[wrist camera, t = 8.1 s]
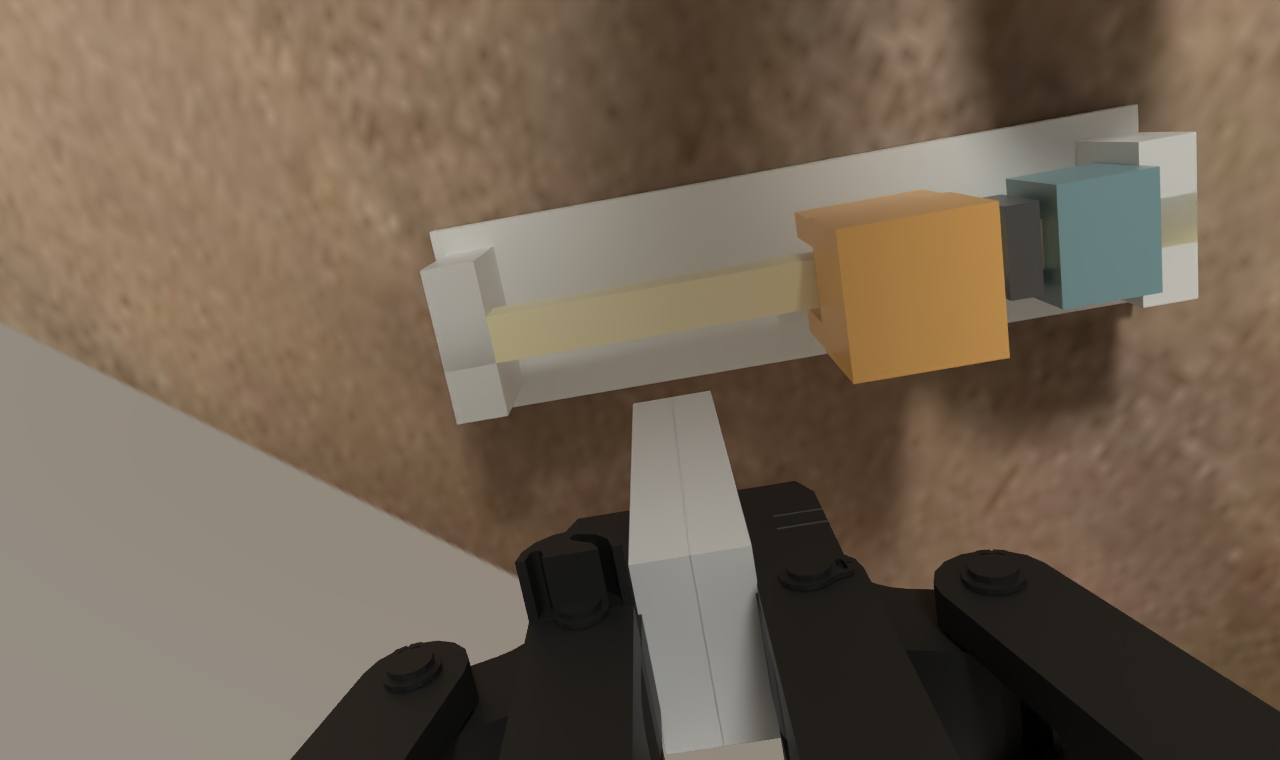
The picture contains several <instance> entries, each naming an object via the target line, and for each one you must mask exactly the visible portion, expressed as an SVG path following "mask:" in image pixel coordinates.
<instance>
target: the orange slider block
mask: <svg viewBox="0 0 1280 760" xmlns="http://www.w3.org/2000/svg"><path fill="white" fill-rule="evenodd" d="M794 214H795V222H796V230H797V237H798V238H799V239H801V240H802V241H804V242H805V243H807V244H808V245H810V246H811V247H813V254H814V262H815V270H816V278H817V286H818V294H819V302H820V307H819V308H813V309H807V314H808V322H809V329H810V332H811V333H812V334H813V335H814V336H815V337H816V339H817V340H818V341H819V342H820V343H821V344H822V346H823V347H824V348H825V349H826V352H827V354H828V355H829V356H830V357H831V358H832V359H833V361H834V362H835V363H836V364H837V365H838V366H839V368H840V369H841V370H842V371H843V372H844V374H845V375H846V376H847V377H848V378H849V379H850V381H851V382H852V383H853V384H858V383H864V382H870V381H876V380H882V379H888V378H894V377H900V376H906V375H912V374H918V373H924V372H930V371H935V370H941V369H947V368H953V367H959V366H965V365H971V364H977V363H983V362H989V361H995V360H1001V359H1006V358H1010V351H1009V337H1008V323H1007V309H1006V295H1005V280H1004V266H1003V252H1002V238H1001V223H1000V209H999V201H998V200H992V199H987V198H981V197H976V196H970V195H965V194H959V193H954V192H945V193H939V192H934V191H929V190H924V189H921V190H915V191H910V192H904V193H899V194H893V195H887V196H882V197H876V198H871V199H865V200H859V201H854V202H848V203H843V204H837V205H831V206H826V207H820V208H815V209H809V210H803V211H798V212H794Z"/></svg>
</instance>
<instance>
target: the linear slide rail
mask: <svg viewBox="0 0 1280 760" xmlns="http://www.w3.org/2000/svg"><path fill="white" fill-rule="evenodd" d="M921 189H924V190H929V191H934V192H939V193H945V192H954V193H959V194H965V195H970V196H976V197H981V198H987V199H992V200H998V201H999V209H1000V223H1001V238H1002V252H1003V266H1004V280H1005V295H1006V309H1007V323H1010V322H1016V321H1022V320H1028V319H1034V318H1039V317H1045V316H1051V315H1057V314H1063V313H1069V312H1075V311H1080V310H1086V309H1092V308H1098V307H1104V306H1110V305H1116V304H1121V303H1127V302H1128V303H1131V304H1134V305H1137V306H1140V307H1143V308H1144V307H1150V306H1156V305H1162V304H1168V303H1174V302H1179V301H1185V300H1191V299H1197V298H1198V237H1197V159H1196V132H1139V126H1138V104H1136V105H1125V106H1119V107H1114V108H1108V109H1103V110H1097V111H1091V112H1086V113H1080V114H1075V115H1069V116H1064V117H1058V118H1053V119H1047V120H1042V121H1036V122H1031V123H1025V124H1020V125H1014V126H1009V127H1003V128H998V129H992V130H987V131H981V132H976V133H970V134H964V135H959V136H953V137H948V138H942V139H937V140H931V141H926V142H920V143H915V144H909V145H904V146H898V147H893V148H887V149H882V150H876V151H871V152H865V153H860V154H854V155H848V156H843V157H837V158H832V159H826V160H821V161H815V162H810V163H804V164H799V165H793V166H788V167H782V168H777V169H771V170H766V171H760V172H755V173H749V174H744V175H738V176H732V177H727V178H721V179H716V180H710V181H705V182H699V183H694V184H688V185H683V186H677V187H672V188H666V189H661V190H655V191H650V192H644V193H639V194H633V195H628V196H622V197H616V198H611V199H605V200H600V201H594V202H589V203H583V204H578V205H572V206H567V207H561V208H556V209H550V210H545V211H539V212H534V213H528V214H523V215H517V216H512V217H506V218H500V219H495V220H489V221H484V222H478V223H473V224H467V225H462V226H456V227H451V228H445V229H440V230H434V231H432V232H430V238H431V242H432V246H433V250H434V254H435V259H436V261H435V262H433V263H432V264H430V265H429V266H427V267H425V268H424V269H422V270H420V274H421V278H422V282H423V286H424V290H425V294H426V298H427V302H428V307H429V311H430V315H431V319H432V323H433V327H434V331H435V335H436V339H437V344H438V348H439V352H440V356H441V360H442V364H443V368H444V372H445V376H446V381H447V385H448V389H449V393H450V397H451V401H452V405H453V409H454V413H455V418H456V422H457V425H458V424H463V423H469V422H475V421H481V420H487V419H493V418H499V417H505V416H508V415H509V413H510V411H511V409H512V407H518V406H524V405H530V404H536V403H542V402H548V401H553V400H559V399H565V398H571V397H577V396H583V395H589V394H594V393H600V392H606V391H612V390H618V389H624V388H630V387H635V386H641V385H647V384H653V383H659V382H665V381H671V380H676V379H682V378H688V377H694V376H700V375H706V374H712V373H717V372H723V371H729V370H735V369H741V368H747V367H753V366H758V365H764V364H770V363H776V362H782V361H788V360H793V359H799V358H805V357H811V356H817V355H823V354H827V352H826V349H825V348H824V347H823V346H822V344H821V343H820V342H819V341H818V340H817V339H816V337H815V336H814V335H813V334H812V333H811V332H810V329H809V322H808V314H807V309H813V308H819V307H820V302H819V294H818V286H817V278H816V270H815V262H814V254H813V247H811V246H810V245H808V244H807V243H805V242H804V241H802V240H801V239H799V238H798V237H797V230H796V222H795V214H794V212H798V211H803V210H809V209H815V208H820V207H826V206H831V205H837V204H843V203H848V202H854V201H859V200H865V199H871V198H876V197H882V196H887V195H893V194H899V193H904V192H910V191H915V190H921Z"/></svg>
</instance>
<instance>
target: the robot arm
mask: <svg viewBox="0 0 1280 760" xmlns="http://www.w3.org/2000/svg"><path fill="white" fill-rule="evenodd" d="M515 564H516V569H517V573H518V577H519V581H520V585H521V590H522V593H523V598H524V602H525V606H526V611H527V614H528V619H529V625H528V630H527V634H526V639H525V643H524V644H523V645H521V646H519V647H518V648H516V649H514V650H512V651H510V652H508V653H505V654H503V655H500V656H498V657H495V658H492V659H490V660H487V661H484V662H481V663H478V664H475V665H472V666H470V662H469V659H468V656H467V653H466V650H465V649H464V648H463V647H461V646H459V645H457V644H456V643H453V642H444V641H432V642H426V643H422V642H420V643H415V644H411V645H410V646H409V647H407V646H405V647H402V648H400V649H397V650H395V651H394V652H393V653H392V654H390V655H388V656H386V657H384V658H383V659H381V660H379V661H378V662H377V663H375V664H374V665H373V666H372V667H371V668H370V669H368V670H367V671H366V672H365V673H364V674H363V675H362V676H361V677H360V679H359V680H358V681H357V682H356V683H355V685H354V686H353V687H352V688H351V689H350V690H349V692H348V693H347V694H346V695H345V696H344V697H343V699H342V700H341V701H340V702H339V703H338V704H337V706H336V707H335V708H334V709H333V710H332V712H331V713H330V714H329V715H328V716H327V718H326V719H325V720H324V721H323V722H322V723H321V724H320V726H319V727H318V728H317V729H316V730H315V732H314V733H313V734H312V735H311V736H310V737H309V738H308V740H307V741H306V742H305V743H304V744H303V746H302V747H301V748H300V749H299V750H298V752H296V754H295V755H294V756H293V757H292V758H291V760H665V758H664V754H663V749H662V736H663V741H664V746H665V751H666V755H668V754H675V753H682V752H689V751H695V750H701V749H708V748H715V747H721V746H728V745H735V744H742V743H749V742H755V741H761V740H769V739H775V738H781V741H782V747H783V753H784V760H1280V712H1279V711H1278V710H1276V709H1275V708H1273V707H1271V706H1270V705H1268V704H1267V703H1265V702H1264V701H1262V700H1260V699H1259V698H1257V697H1256V696H1254V695H1252V694H1251V693H1249V692H1248V691H1246V690H1245V689H1243V688H1241V687H1240V686H1238V685H1237V684H1235V683H1234V682H1232V681H1230V680H1229V679H1227V678H1226V677H1224V676H1222V675H1221V674H1219V673H1218V672H1216V671H1215V670H1213V669H1211V668H1210V667H1208V666H1207V665H1205V664H1204V663H1202V662H1200V661H1199V660H1197V659H1196V658H1194V657H1192V656H1191V655H1189V654H1188V653H1186V652H1185V651H1183V650H1181V649H1180V648H1178V647H1177V646H1175V645H1174V644H1172V643H1170V642H1169V641H1167V640H1166V639H1164V638H1162V637H1161V636H1159V635H1158V634H1156V633H1155V632H1153V631H1151V630H1150V629H1148V628H1147V627H1145V626H1144V625H1142V624H1140V623H1139V622H1137V621H1136V620H1134V619H1132V618H1131V617H1129V616H1128V615H1126V614H1125V613H1123V612H1121V611H1120V610H1118V609H1117V608H1115V607H1114V606H1112V605H1110V604H1109V603H1107V602H1106V601H1104V600H1102V599H1101V598H1099V597H1098V596H1096V595H1095V594H1093V593H1091V592H1090V591H1088V590H1087V589H1085V588H1084V587H1082V586H1080V585H1079V584H1077V583H1076V582H1074V581H1072V580H1071V579H1069V578H1068V577H1066V576H1065V575H1063V574H1061V573H1060V572H1058V571H1057V570H1055V569H1054V568H1052V567H1050V566H1049V565H1047V564H1046V563H1044V562H1041V561H1039V560H1037V559H1035V558H1032V557H1030V556H1028V555H1023V554H1018V553H1013V552H1008V551H1006V550H993V551H990V550H979V551H976V552H973V553H967V554H961V555H959V556H957V557H954V558H952V559H950V560H947V561H945V562H944V563H943V564H942V565H941V566H940V567H939V568H938V569H937V570H936V571H935V575H934V590H930V589H903V588H892V587H887V586H883V585H878V584H875V583H873V582H871V581H870V579H869V577H868V575H867V573H866V571H865V569H864V567H863V566H862V565H861V564H860V563H859V562H858V561H857V560H856V559H854V558H851V557H849V556H846V555H844V554H843V552H842V549H841V547H840V545H839V543H838V541H837V539H836V537H835V535H834V533H833V531H832V528H831V526H830V524H829V522H828V521H827V518H826V516H825V514H824V512H823V510H822V509H821V505H820V503H819V501H818V499H817V497H816V495H815V493H814V491H812V490H810V489H808V488H807V487H805V486H803V485H801V484H799V483H798V482H796V481H792V482H786V483H780V484H774V485H767V486H761V487H755V488H749V489H743V490H737V489H736V485H735V481H734V477H733V474H732V470H731V466H730V462H729V459H728V455H727V451H726V447H725V444H724V440H723V436H722V432H721V429H720V425H719V421H718V417H717V414H716V410H715V406H714V402H713V398H712V395H711V391H705V392H699V393H693V394H687V395H681V396H675V397H669V398H664V399H658V400H652V401H646V402H640V403H634V404H633V418H632V453H631V488H630V511H624V512H618V513H611V514H605V515H599V516H593V517H587V518H581V519H578V520H577V521H576V522H575V523H574V524H573V525H572V526H571V527H570V528H569V529H568V530H567V531H566V532H564V533H560V534H556V535H552V536H550V537H548V538H545V539H543V540H541V541H539V542H536V543H534V544H533V545H532V546H530V547H529V548H527V549H526V550H525V551H523V552H522V553H521V554H520V556H519V558H518V559H517V561H516V562H515Z"/></svg>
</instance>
